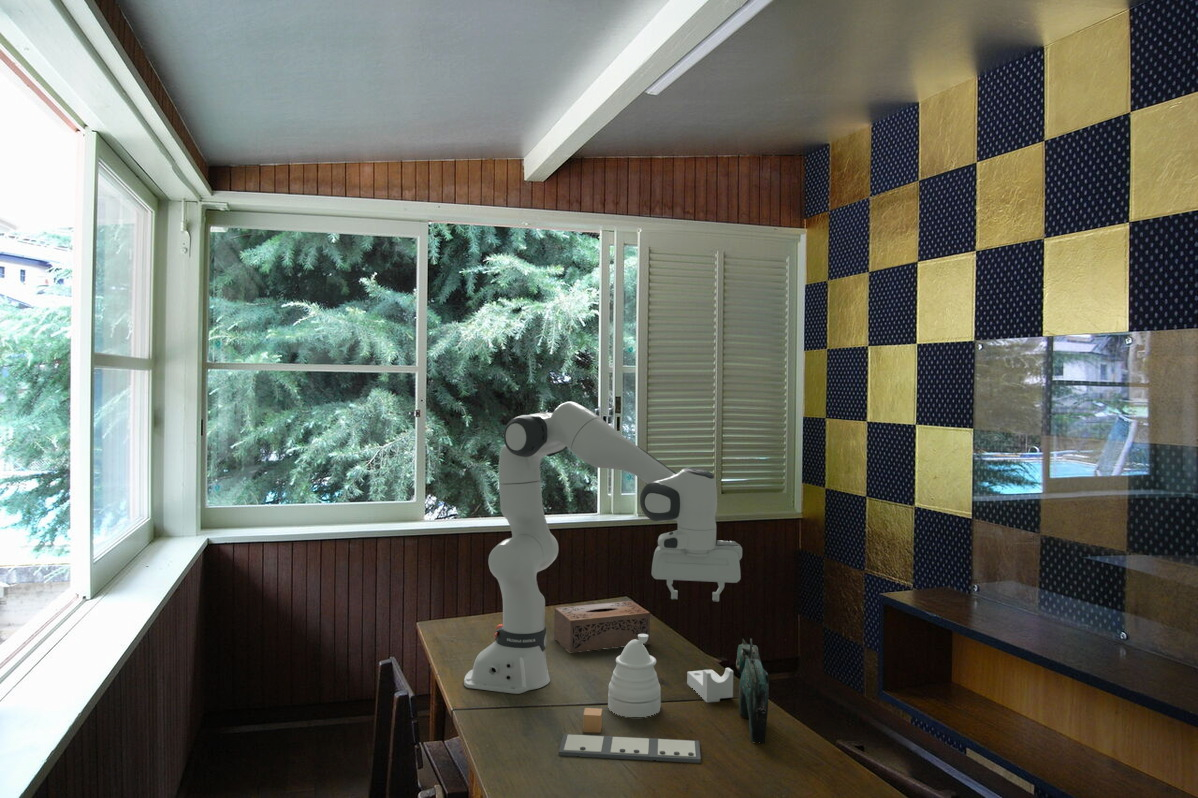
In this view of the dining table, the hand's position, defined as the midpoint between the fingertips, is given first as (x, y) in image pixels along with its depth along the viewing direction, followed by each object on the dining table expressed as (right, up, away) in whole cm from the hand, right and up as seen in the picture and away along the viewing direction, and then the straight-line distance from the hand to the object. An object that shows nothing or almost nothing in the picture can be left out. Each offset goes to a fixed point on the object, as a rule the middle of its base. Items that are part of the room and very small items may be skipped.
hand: (694, 599), depth 188 cm
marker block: (-23, -30, +1) cm, 38 cm away
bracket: (+7, -30, +24) cm, 39 cm away
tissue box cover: (-21, -29, +64) cm, 73 cm away
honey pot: (-13, -30, +13) cm, 35 cm away
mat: (-15, -30, -10) cm, 35 cm away
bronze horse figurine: (+14, -31, +3) cm, 34 cm away
